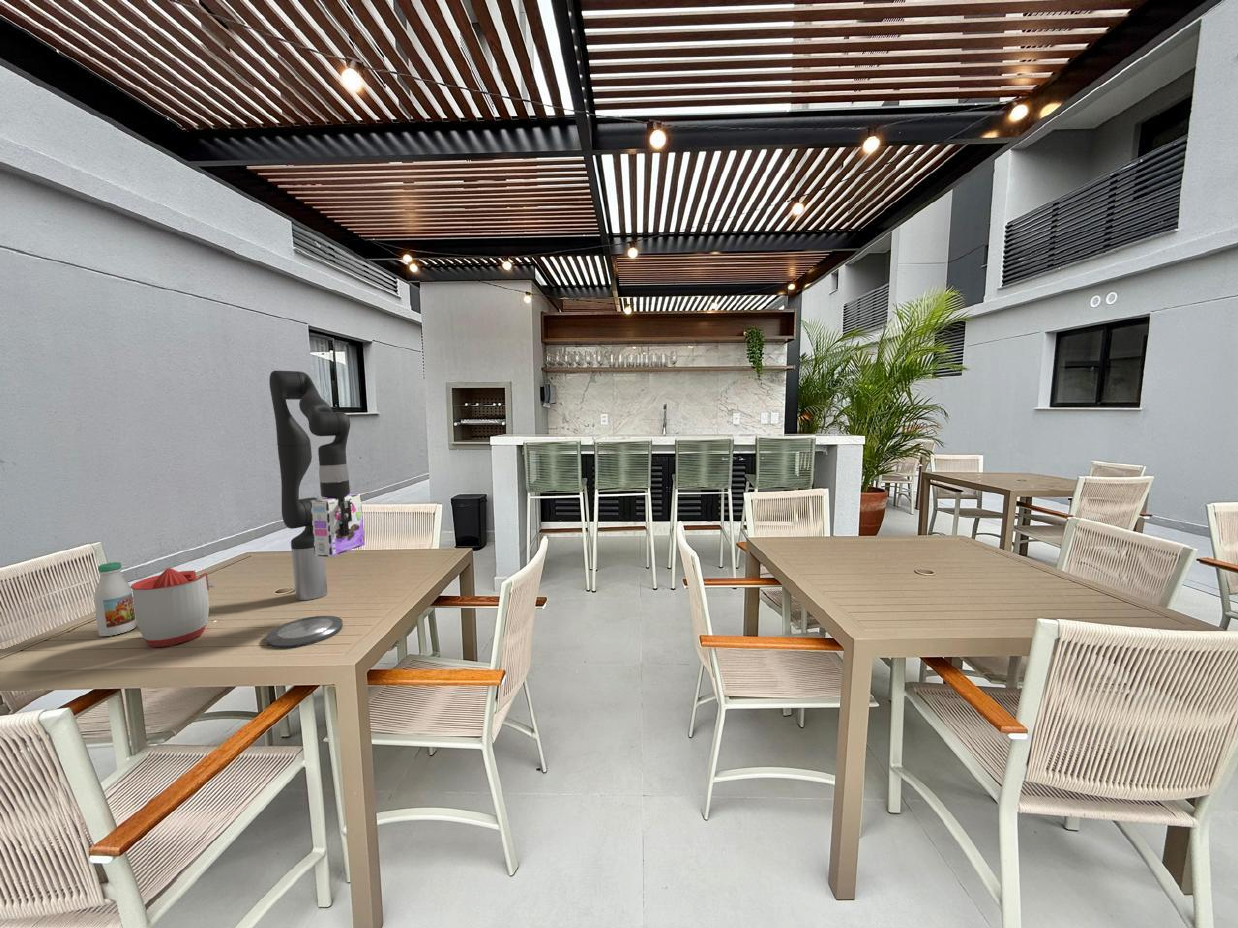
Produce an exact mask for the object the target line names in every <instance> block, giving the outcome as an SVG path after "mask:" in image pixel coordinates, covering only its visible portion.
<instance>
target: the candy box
mask: <svg viewBox="0 0 1238 928" xmlns="http://www.w3.org/2000/svg"><path fill="white" fill-rule="evenodd" d="M344 498H345V501H350V504H351V514H352V521H350V522H349V523H348V525H349V535H348V536H343V537H342V536H340V526H339V524H340V523H339V516H338V515H339V514H340V513H341V510H340V507H339V505H338V499H337V498H334V497H322V498H319V499H318V498H317V500H311V514H312V528H313V541H314V554H315V556H324V557H326V558H327V557H328V558H332V557H334V556H338V555H341V554H343V553H346V552H349V551H352V550H354V549H358V548H361V547H362V546H365V544H366V543H365V532H364V530H365V529H364V519H363V506H362V494H361V493H350V494H349V495H345V496H344Z"/></svg>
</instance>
